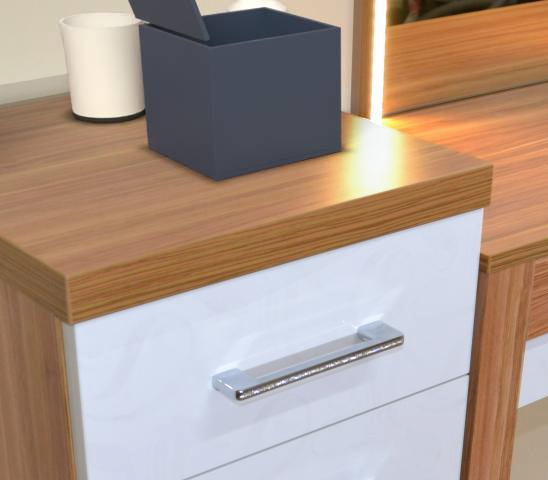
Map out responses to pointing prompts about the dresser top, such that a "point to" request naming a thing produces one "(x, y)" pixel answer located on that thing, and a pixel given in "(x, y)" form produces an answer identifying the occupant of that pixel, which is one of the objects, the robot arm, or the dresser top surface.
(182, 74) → the carton
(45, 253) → the dresser top surface
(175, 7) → the flap
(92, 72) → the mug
